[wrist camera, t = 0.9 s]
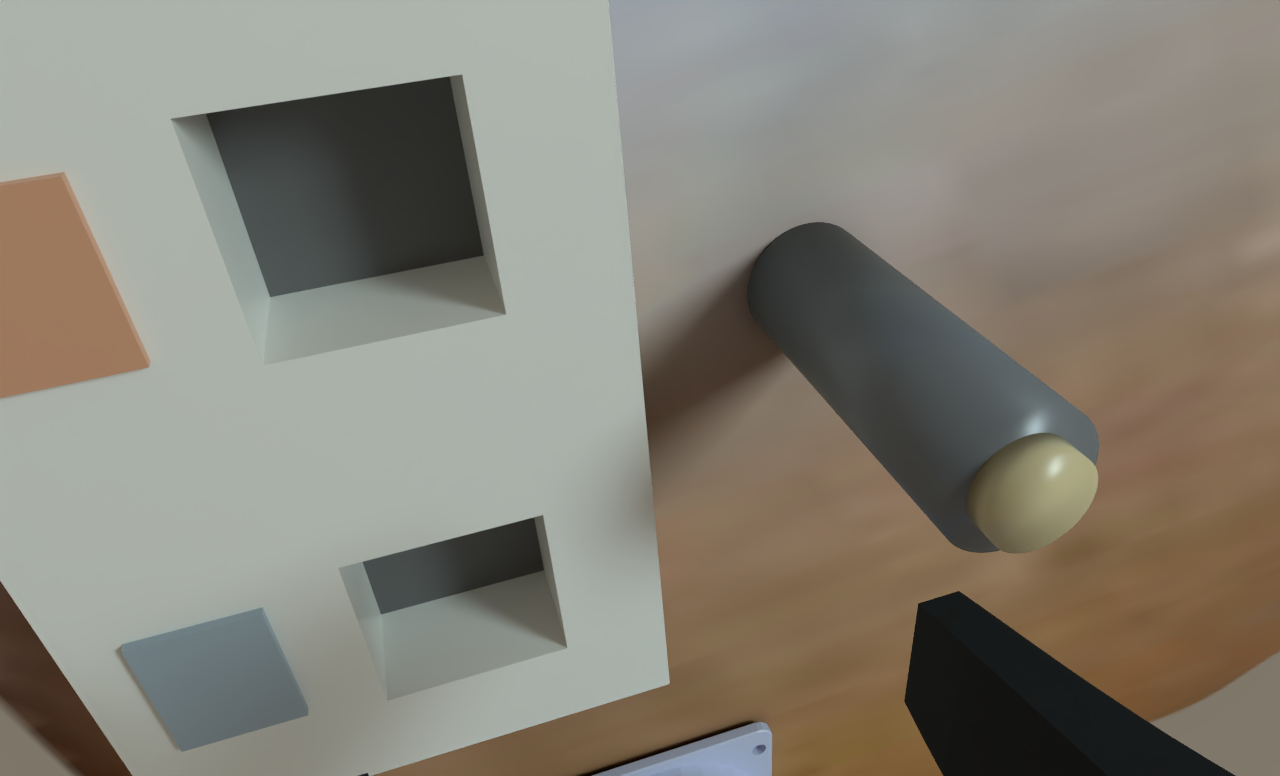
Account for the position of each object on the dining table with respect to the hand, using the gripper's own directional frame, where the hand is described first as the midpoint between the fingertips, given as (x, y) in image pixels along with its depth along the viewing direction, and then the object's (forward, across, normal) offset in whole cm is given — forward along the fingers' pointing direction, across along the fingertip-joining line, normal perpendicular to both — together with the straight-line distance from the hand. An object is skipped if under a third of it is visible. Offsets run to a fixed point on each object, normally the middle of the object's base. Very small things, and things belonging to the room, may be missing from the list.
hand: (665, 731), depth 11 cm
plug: (+10, -7, 0) cm, 13 cm away
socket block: (+10, +4, 0) cm, 11 cm away
